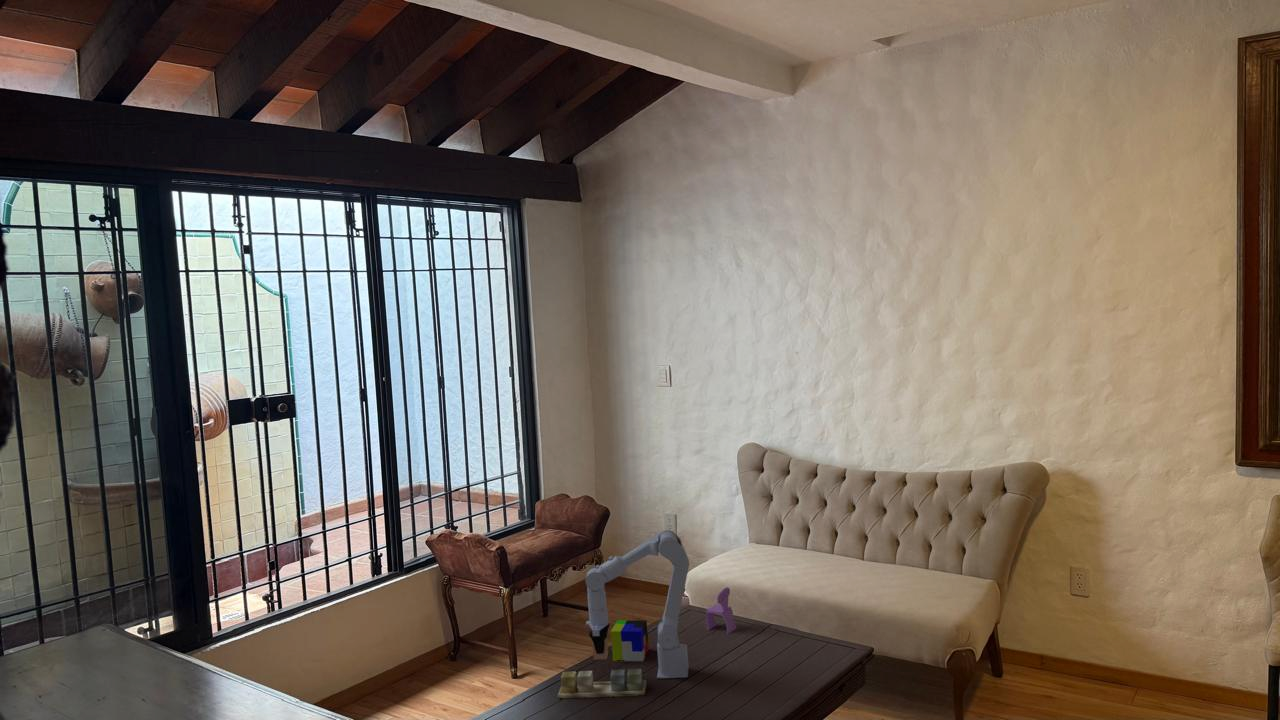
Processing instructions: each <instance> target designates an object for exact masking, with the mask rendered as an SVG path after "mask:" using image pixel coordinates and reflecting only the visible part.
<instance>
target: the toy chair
mask: <svg viewBox="0 0 1280 720" xmlns="http://www.w3.org/2000/svg"><path fill="white" fill-rule="evenodd" d="M730 594H731V589H730V588H729V587H728V586H727V587H725V588H723V589H721V590H720V592H719V593H718V594H717V597H716V601H717V604H714V605H712V606H711V607H709V608H707V609H706V612H705V617H706V628H707V629H706V630H707V631H710V630H711V629H713V628H714V627H716V626H718V622H717V621H716V619H715V615H720V616H722V618H723V619H724V622H725V625H726V633H727V635H729V634H730V633H732V632H733V631H735V630H736V629H737V628H738V627H737V626H736V623H735V621H734V614H733V613H734V612H733V609H732V606H730V605H729V596H730Z"/></svg>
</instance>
